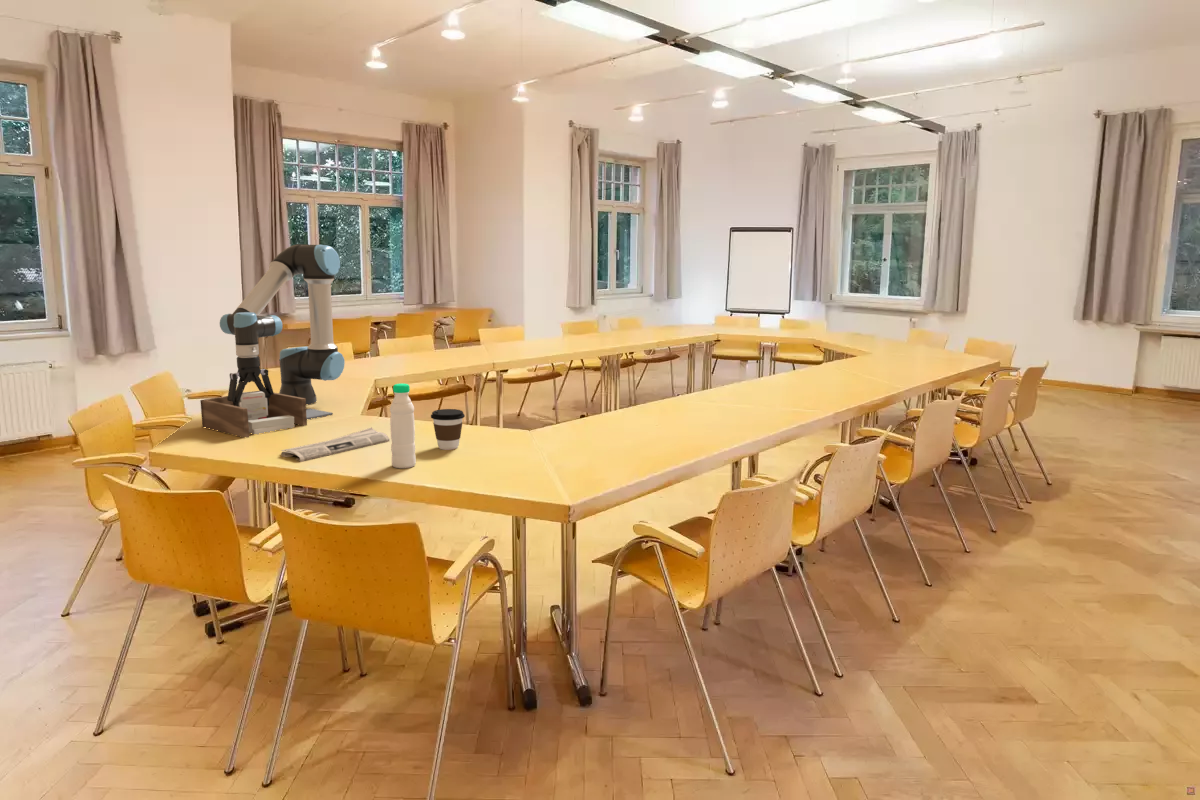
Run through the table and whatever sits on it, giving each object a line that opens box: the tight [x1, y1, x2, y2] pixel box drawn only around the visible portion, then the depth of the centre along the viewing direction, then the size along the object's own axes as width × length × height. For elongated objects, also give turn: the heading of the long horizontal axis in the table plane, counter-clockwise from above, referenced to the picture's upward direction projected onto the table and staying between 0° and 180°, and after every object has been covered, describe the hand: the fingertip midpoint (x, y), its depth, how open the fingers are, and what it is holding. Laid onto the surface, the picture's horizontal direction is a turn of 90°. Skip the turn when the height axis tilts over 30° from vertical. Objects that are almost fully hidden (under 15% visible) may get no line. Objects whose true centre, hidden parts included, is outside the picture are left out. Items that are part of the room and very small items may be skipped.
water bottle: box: [389, 382, 417, 469], centre depth 237 cm, size 7×7×25 cm
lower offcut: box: [249, 424, 295, 435], centre depth 281 cm, size 15×4×2 cm, turn 142°
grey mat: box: [306, 407, 334, 420], centre depth 306 cm, size 13×14×1 cm
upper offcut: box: [248, 415, 295, 429], centre depth 281 cm, size 15×4×2 cm, turn 135°
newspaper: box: [280, 426, 390, 463], centre depth 259 cm, size 35×12×4 cm, turn 144°
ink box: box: [239, 390, 267, 421], centre depth 287 cm, size 9×5×12 cm, turn 129°
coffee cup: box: [430, 408, 466, 451], centre depth 261 cm, size 11×11×12 cm
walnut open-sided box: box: [199, 392, 308, 438], centre depth 286 cm, size 25×26×10 cm
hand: (252, 417), depth 287 cm, fingers closed on ink box, 9 cm apart
